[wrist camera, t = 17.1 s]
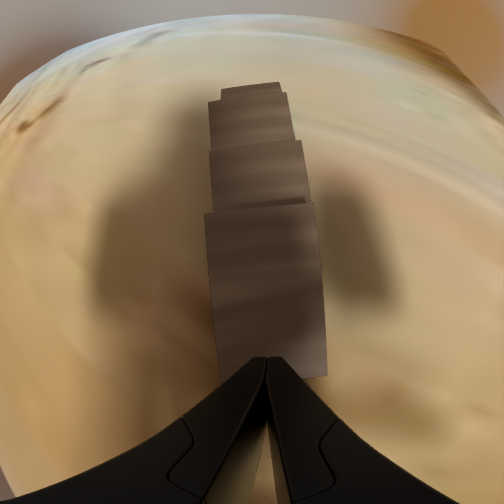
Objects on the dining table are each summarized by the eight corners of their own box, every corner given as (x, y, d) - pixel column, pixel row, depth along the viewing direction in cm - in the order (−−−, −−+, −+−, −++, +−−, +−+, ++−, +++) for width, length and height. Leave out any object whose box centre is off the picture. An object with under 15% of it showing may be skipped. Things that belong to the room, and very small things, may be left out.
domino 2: (305, 214, 16) (286, 92, 16) (218, 224, 16) (208, 102, 16) (302, 217, 18) (285, 103, 17) (223, 225, 18) (213, 112, 18)
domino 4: (327, 375, 12) (313, 202, 13) (221, 383, 12) (204, 214, 13) (322, 364, 14) (309, 209, 14) (226, 371, 14) (211, 219, 15)
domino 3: (321, 291, 14) (301, 140, 14) (222, 301, 14) (209, 151, 15) (316, 288, 16) (298, 151, 16) (227, 297, 16) (215, 161, 16)
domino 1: (295, 139, 18) (279, 81, 21) (219, 148, 18) (221, 89, 21) (295, 155, 19) (280, 96, 23) (224, 164, 19) (224, 103, 23)
